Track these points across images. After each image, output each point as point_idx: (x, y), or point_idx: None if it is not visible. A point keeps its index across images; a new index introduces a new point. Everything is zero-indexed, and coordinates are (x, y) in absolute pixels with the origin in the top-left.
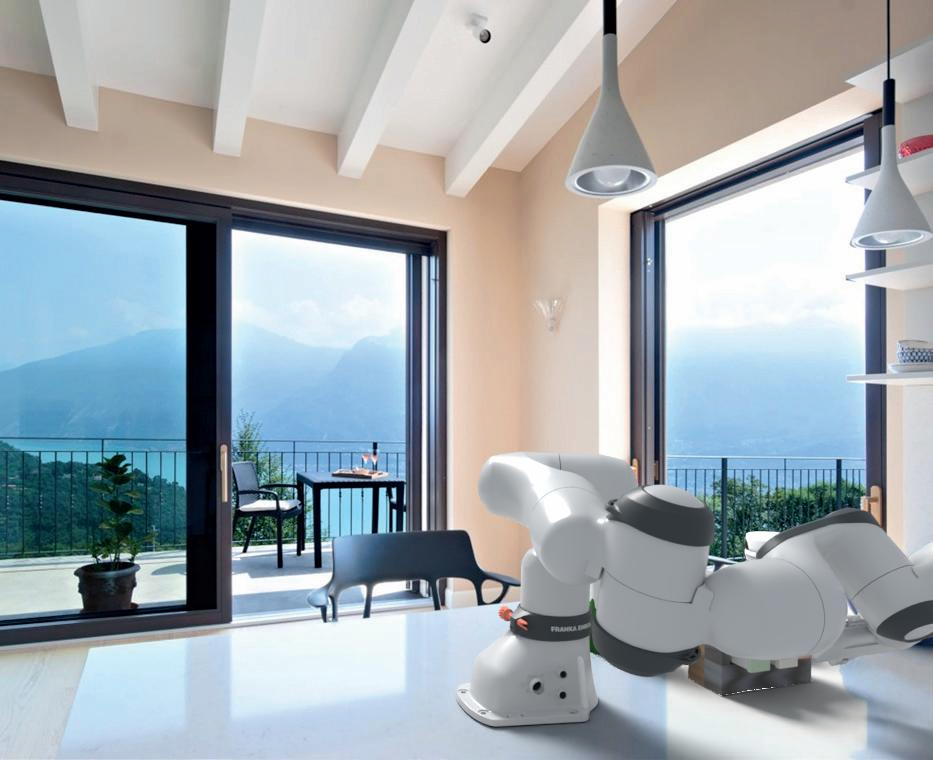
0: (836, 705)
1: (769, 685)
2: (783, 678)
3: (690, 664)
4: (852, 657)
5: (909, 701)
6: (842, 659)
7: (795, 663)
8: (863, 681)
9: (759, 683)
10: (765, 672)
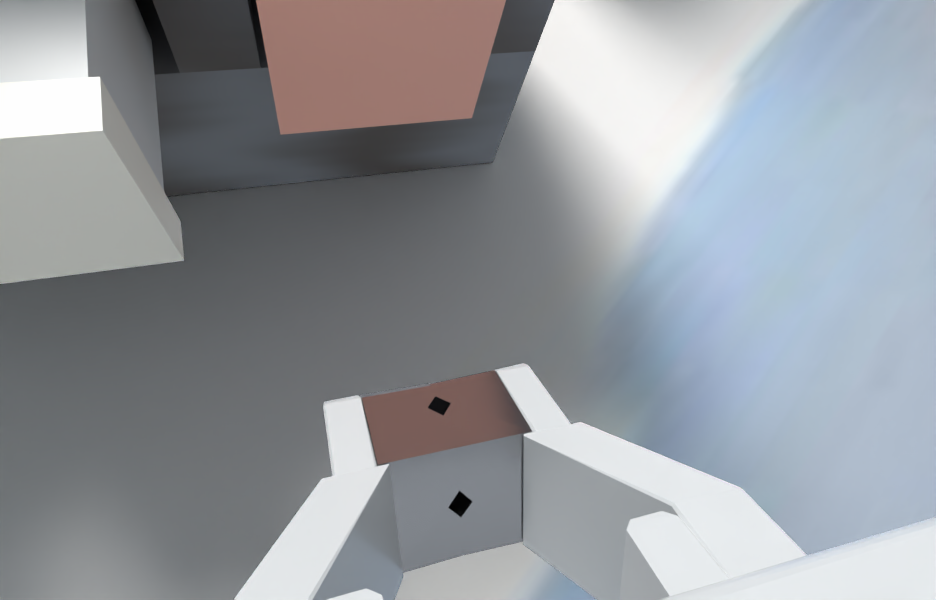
0: None
1: None
2: (268, 159)
3: None
4: (571, 572)
5: (882, 470)
6: (443, 549)
7: (145, 253)
8: (787, 201)
9: None
10: None
